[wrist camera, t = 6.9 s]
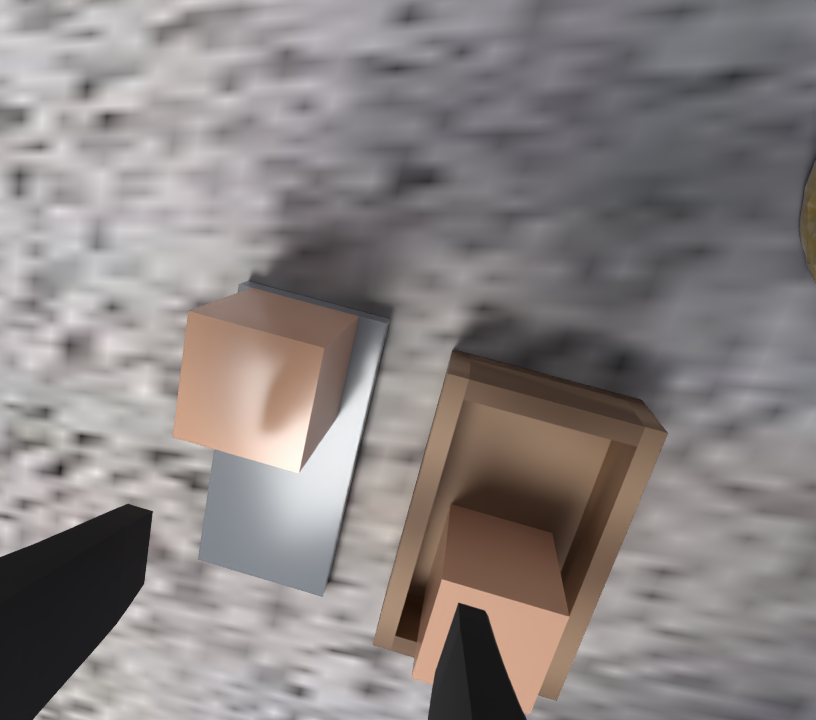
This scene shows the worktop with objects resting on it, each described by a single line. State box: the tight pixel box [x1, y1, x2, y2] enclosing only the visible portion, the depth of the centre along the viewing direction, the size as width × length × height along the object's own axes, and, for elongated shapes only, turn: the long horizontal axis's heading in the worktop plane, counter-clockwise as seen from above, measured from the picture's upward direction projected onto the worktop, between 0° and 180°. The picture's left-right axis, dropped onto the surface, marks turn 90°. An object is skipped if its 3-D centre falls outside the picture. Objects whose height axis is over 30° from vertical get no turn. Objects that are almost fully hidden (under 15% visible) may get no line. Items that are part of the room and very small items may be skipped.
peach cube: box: [411, 504, 569, 714], centre depth 20 cm, size 4×4×4 cm
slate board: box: [198, 281, 390, 597], centre depth 22 cm, size 12×6×1 cm, turn 167°
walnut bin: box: [373, 350, 668, 701], centre depth 20 cm, size 11×7×3 cm, turn 167°
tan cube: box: [173, 288, 359, 473], centre depth 18 cm, size 4×4×4 cm
